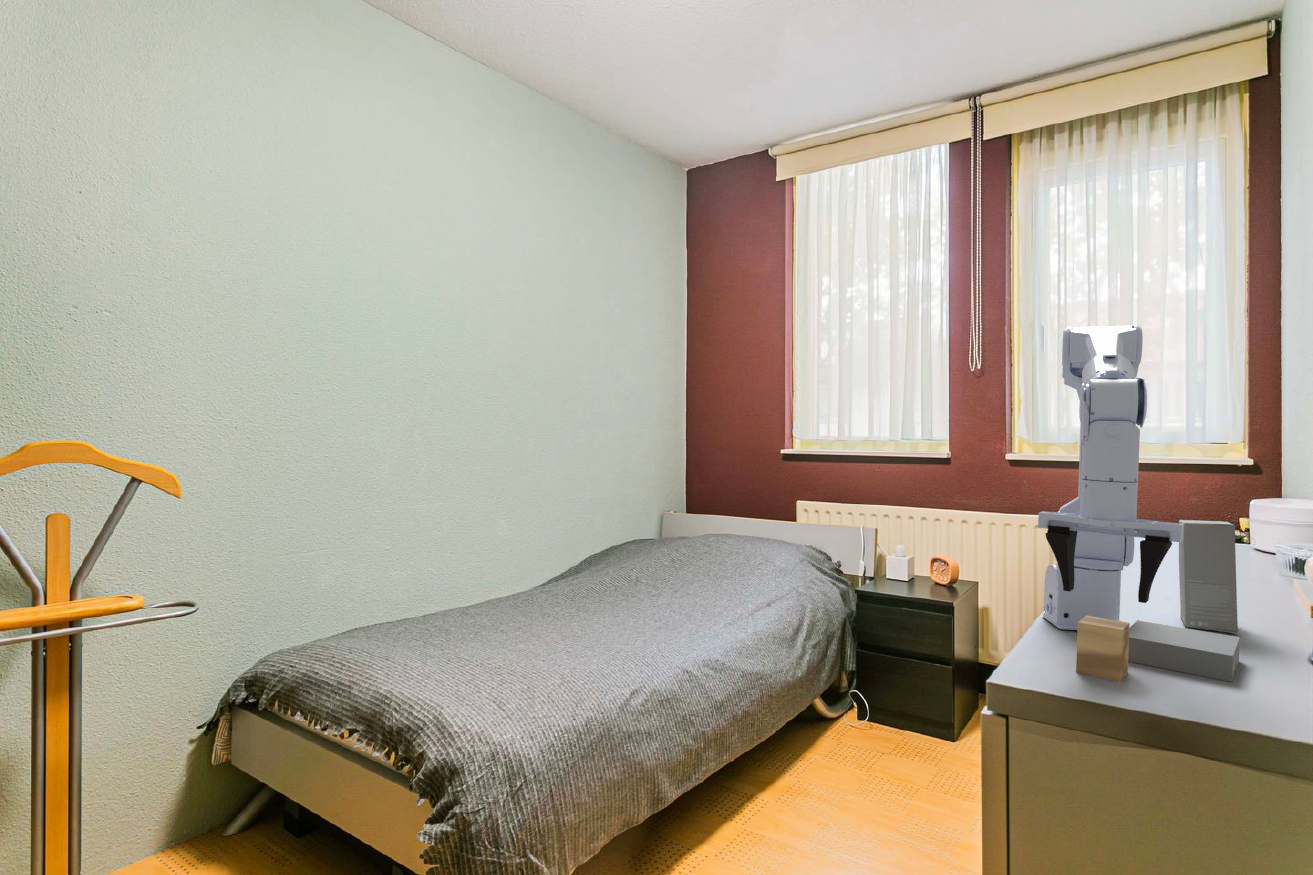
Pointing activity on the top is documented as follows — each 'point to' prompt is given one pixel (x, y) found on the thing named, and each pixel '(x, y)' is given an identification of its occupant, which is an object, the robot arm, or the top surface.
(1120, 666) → the oak block
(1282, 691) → the top surface
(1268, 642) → the top surface
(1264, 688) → the top surface
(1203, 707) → the top surface
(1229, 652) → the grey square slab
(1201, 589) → the skincare box
